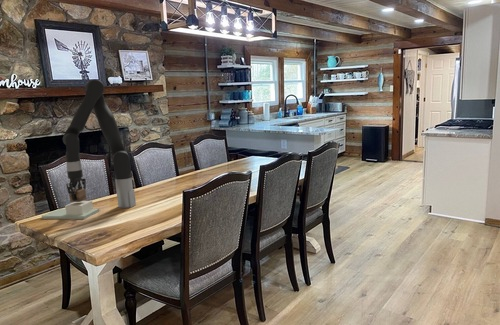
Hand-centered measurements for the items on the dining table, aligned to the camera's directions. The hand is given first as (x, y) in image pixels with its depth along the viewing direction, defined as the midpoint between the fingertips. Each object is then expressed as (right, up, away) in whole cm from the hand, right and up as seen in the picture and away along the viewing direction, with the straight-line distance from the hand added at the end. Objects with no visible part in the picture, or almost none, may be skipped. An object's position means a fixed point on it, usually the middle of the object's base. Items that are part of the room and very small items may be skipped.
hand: (78, 198), depth 212 cm
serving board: (-5, -9, +1) cm, 10 cm away
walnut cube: (0, -1, 0) cm, 1 cm away
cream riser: (0, -7, +1) cm, 8 cm away
